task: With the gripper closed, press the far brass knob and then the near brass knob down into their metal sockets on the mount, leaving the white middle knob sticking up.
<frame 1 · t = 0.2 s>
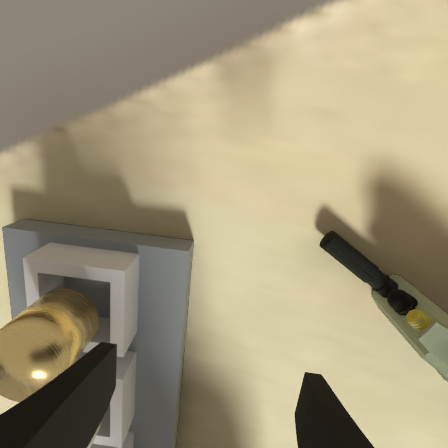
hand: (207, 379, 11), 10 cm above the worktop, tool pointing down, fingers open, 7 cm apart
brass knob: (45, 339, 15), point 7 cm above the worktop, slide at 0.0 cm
handheld radio: (446, 334, 22), on the worktop
knob mount: (108, 359, 24), on the worktop
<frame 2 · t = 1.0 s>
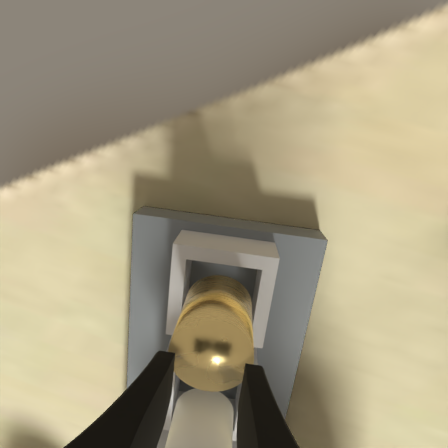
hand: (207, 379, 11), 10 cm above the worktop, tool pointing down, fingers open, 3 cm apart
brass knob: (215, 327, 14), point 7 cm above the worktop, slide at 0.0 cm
knob mount: (212, 352, 24), on the worktop
white middle knob: (199, 443, 17), point 7 cm above the worktop, slide at 0.0 cm
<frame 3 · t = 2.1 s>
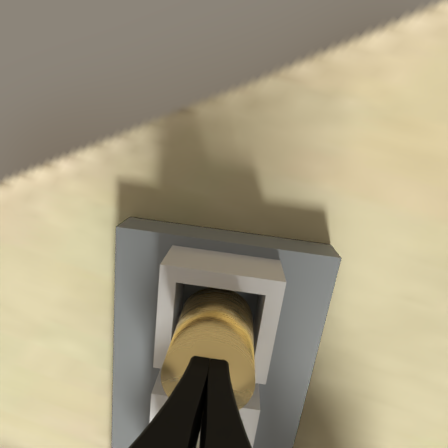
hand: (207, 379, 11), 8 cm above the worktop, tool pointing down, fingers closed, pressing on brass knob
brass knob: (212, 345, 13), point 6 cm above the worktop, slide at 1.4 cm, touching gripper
knob mount: (209, 379, 21), on the worktop
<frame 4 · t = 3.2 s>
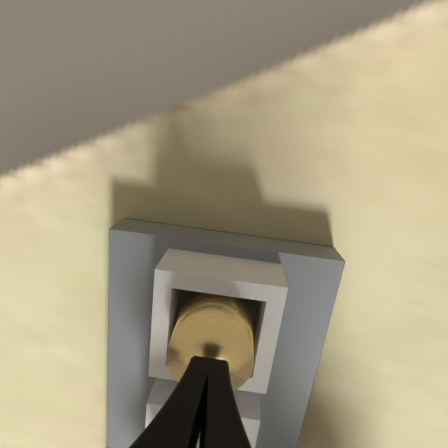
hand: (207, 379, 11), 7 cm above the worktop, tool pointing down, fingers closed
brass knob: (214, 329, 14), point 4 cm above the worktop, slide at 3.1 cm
knob mount: (207, 385, 20), on the worktop
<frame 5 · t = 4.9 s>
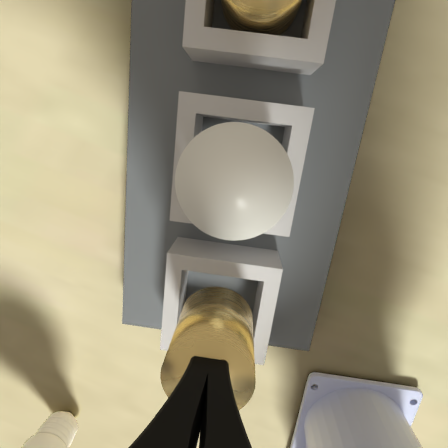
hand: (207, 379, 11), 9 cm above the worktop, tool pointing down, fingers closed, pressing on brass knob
lightbulb: (69, 412, 25), on the worktop
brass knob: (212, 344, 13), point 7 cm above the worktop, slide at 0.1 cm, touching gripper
knob mount: (239, 160, 18), on the worktop
white middle knob: (235, 175, 11), point 7 cm above the worktop, slide at 0.0 cm
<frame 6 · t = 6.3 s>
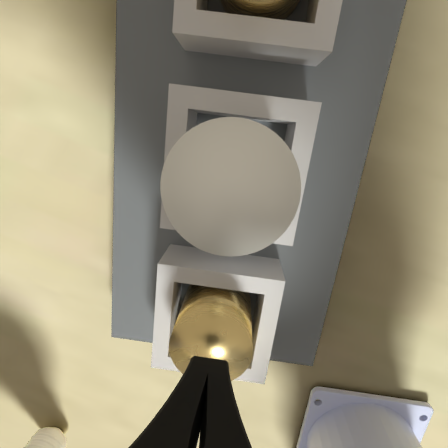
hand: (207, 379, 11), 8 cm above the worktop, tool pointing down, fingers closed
lightbulb: (58, 428, 23), on the worktop
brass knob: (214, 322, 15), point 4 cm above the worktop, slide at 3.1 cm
knob mount: (237, 160, 17), on the worktop
white middle knob: (232, 179, 10), point 7 cm above the worktop, slide at 0.0 cm
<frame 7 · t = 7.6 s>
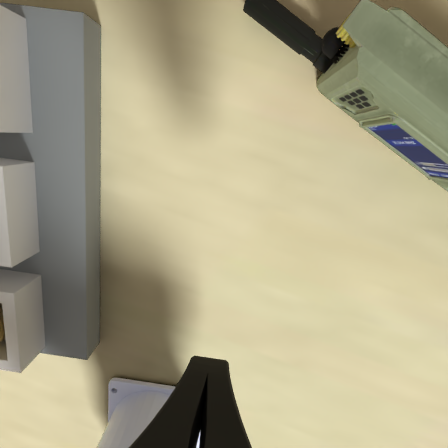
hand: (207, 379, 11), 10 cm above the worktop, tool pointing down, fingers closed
handheld radio: (412, 136, 19), on the worktop
knob mount: (15, 196, 21), on the worktop
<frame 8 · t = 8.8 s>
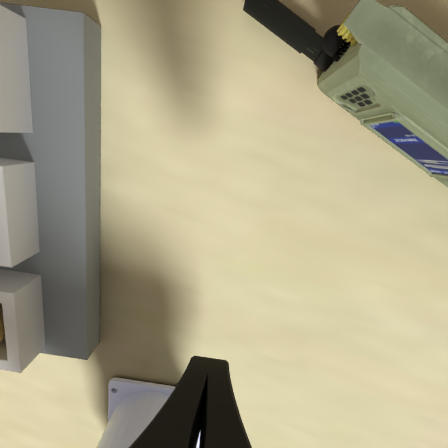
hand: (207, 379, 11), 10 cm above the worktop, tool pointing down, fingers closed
handheld radio: (414, 134, 19), on the worktop
knob mount: (15, 196, 21), on the worktop
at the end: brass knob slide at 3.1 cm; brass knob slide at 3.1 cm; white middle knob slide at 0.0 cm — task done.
